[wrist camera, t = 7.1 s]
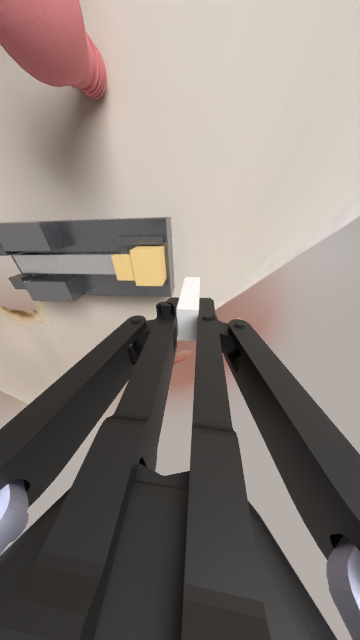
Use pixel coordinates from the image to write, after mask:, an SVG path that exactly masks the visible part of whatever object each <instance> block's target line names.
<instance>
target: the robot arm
mask: <svg viewBox="0 0 360 640" xmlns="http://www.w3.org/2000/svg"><path fill="white" fill-rule="evenodd" d="M199 293H200V277H185V280H184V283H183V287H182V291H181V294H180V298H169V299H168V300H167V301H165V302H160V303H158V304H157V305H156V309H157V318H156V319H154V320H148V321H146V318H145V317H143V316H133V317H130V318H129V319H127V320H126V321H125V322H124V323H123V324H122V325H120V326H119V327H118V328H117V329H116V330H115V331H113V332H112V333H111V334H110V335H109V336H108V337H107V338H105V339H104V340H103V341H102V342H101V343H100V344H98V345H97V346H96V347H95V348H94V349H93V350H92V351H90V352H89V353H88V354H87V355H86V356H85V357H83V358H82V359H81V360H80V361H79V362H78V363H76V364H75V365H74V366H73V367H72V368H71V369H70V370H68V371H67V372H66V373H65V374H64V375H63V376H61V377H60V378H59V379H58V380H57V381H56V382H55V383H53V384H52V385H51V386H50V387H49V388H48V389H46V390H45V391H44V392H43V393H42V394H41V395H40V396H38V397H37V398H36V399H35V400H34V401H33V402H31V403H30V404H29V405H28V406H27V407H26V408H24V409H23V410H22V411H21V412H20V413H19V414H18V415H16V416H15V417H14V418H13V419H12V420H11V421H9V422H8V423H7V424H6V425H5V426H4V427H3V428H1V429H0V554H1V553H2V551H3V550H4V549H5V547H6V546H7V545H8V544H9V543H10V542H12V541H14V540H15V539H16V538H17V537H18V536H19V535H20V534H21V533H22V532H23V530H24V528H25V527H26V525H27V522H28V513H27V510H28V507H29V506H30V505H32V503H34V502H35V501H36V499H37V498H39V497H40V495H41V494H42V493H43V492H44V491H45V490H46V488H48V486H49V485H50V484H51V483H52V482H53V481H54V480H55V478H56V477H57V476H58V475H59V473H60V472H61V471H62V470H63V468H64V467H65V466H66V464H67V463H68V462H69V460H70V459H71V458H72V456H73V455H74V454H75V452H76V451H77V449H78V448H79V447H80V445H81V444H82V443H83V441H84V440H85V438H86V437H87V436H88V434H89V433H90V432H91V430H92V429H93V428H94V426H95V425H96V424H97V422H98V421H99V419H100V418H101V417H102V415H103V414H104V413H105V411H106V410H107V408H108V407H109V406H110V404H111V403H112V402H113V400H114V399H115V398H116V396H117V395H118V393H119V392H120V391H121V389H122V388H123V387H124V385H125V384H126V383H127V381H128V380H129V382H128V384H127V386H126V388H125V391H124V393H123V395H122V397H121V400H120V402H119V405H118V406H117V409H116V411H115V413H114V414H113V415H112V416H110V417H108V418H106V419H105V420H104V422H103V423H102V425H101V426H100V428H99V430H98V433H97V434H96V437H95V439H94V441H93V443H92V445H91V447H90V449H89V451H88V453H87V456H86V457H85V460H84V462H83V464H82V466H81V468H80V470H79V472H78V474H77V477H76V479H75V480H74V483H73V485H72V487H71V488H70V489H69V490H68V491H67V492H66V493H65V494H64V495H63V496H62V497H61V498H60V499H58V500H57V501H56V502H55V503H54V504H53V505H52V506H51V507H50V508H49V509H48V510H47V511H46V512H45V513H44V514H43V515H42V516H41V517H40V518H39V519H38V520H37V521H36V522H35V523H34V524H33V525H32V526H31V527H30V528H29V529H27V530H26V531H25V532H24V533H23V534H22V535H21V536H20V537H19V538H18V539H17V540H16V541H15V542H14V543H13V544H12V545H11V546H10V547H9V548H8V549H7V550H6V551H5V552H4V553H3V554H2V555H1V556H0V640H337V638H336V637H335V635H334V634H333V632H332V631H331V629H330V627H329V625H328V624H327V622H326V621H325V619H324V618H323V616H322V614H321V613H320V611H319V609H318V608H317V606H316V605H315V603H314V601H313V600H312V598H311V597H310V595H309V593H308V592H307V590H306V589H305V587H304V585H303V584H302V582H301V581H300V579H299V577H298V576H297V574H296V573H295V571H294V569H293V568H292V566H291V565H290V563H289V561H288V560H287V558H286V557H285V555H284V553H283V552H282V550H281V548H280V547H279V545H278V544H277V542H276V540H275V539H274V537H273V536H272V534H271V532H270V531H269V529H268V528H267V526H266V524H265V523H264V521H263V520H262V518H261V517H260V515H259V514H258V513H257V511H256V510H255V509H254V507H253V506H252V505H251V504H250V503H249V501H248V500H247V494H246V487H245V481H244V474H243V468H242V461H241V455H240V449H239V443H238V438H237V435H236V433H235V431H234V430H233V428H232V423H231V415H230V407H229V400H228V393H227V385H226V378H225V371H224V364H223V356H222V353H223V354H224V357H225V359H226V361H227V363H228V365H229V367H230V369H231V372H232V374H233V376H234V378H235V380H236V382H237V384H238V386H239V389H240V391H241V393H242V395H243V397H244V399H245V401H246V403H247V405H248V408H249V410H250V412H251V414H252V416H253V418H254V420H255V422H256V424H257V426H258V429H259V430H260V433H261V435H262V437H263V439H264V441H265V443H266V445H267V448H268V450H269V452H270V454H271V456H272V458H273V460H274V462H275V464H276V466H277V469H278V471H279V473H280V475H281V477H282V479H283V481H284V483H285V485H286V488H287V490H288V492H289V494H290V496H291V498H292V500H293V502H294V504H295V506H296V508H297V510H298V512H299V513H300V515H301V517H302V519H303V521H304V523H305V525H306V527H307V528H308V530H309V531H310V533H311V535H312V537H313V538H314V540H315V542H316V543H317V545H318V547H319V548H320V550H321V551H322V553H323V554H324V556H325V557H326V559H327V560H328V561H327V579H328V583H329V591H330V593H331V596H332V598H333V601H334V603H335V605H336V607H337V609H338V611H339V613H340V615H341V616H342V619H343V621H344V623H345V625H346V627H347V629H348V631H349V633H350V635H351V637H352V639H353V640H360V454H359V453H358V452H357V451H356V450H355V448H354V447H353V446H352V445H351V444H350V443H349V441H348V440H347V439H346V438H345V437H344V436H343V434H342V433H341V432H340V431H339V430H338V428H337V427H336V426H335V425H334V424H333V422H332V421H331V420H330V419H329V418H328V417H327V415H326V414H325V413H324V412H323V411H322V409H321V408H320V407H319V406H318V405H317V404H316V402H315V401H314V400H313V399H312V398H311V396H310V395H309V394H308V393H307V392H306V391H305V390H304V388H303V387H302V386H301V385H300V384H299V382H298V381H297V380H296V379H295V378H294V376H293V375H292V374H291V373H290V372H289V370H288V369H287V368H286V367H285V366H284V365H283V363H282V362H281V361H280V360H279V359H278V357H277V356H276V355H275V354H274V353H273V352H272V350H271V349H270V348H269V347H268V346H267V344H266V343H265V342H264V341H263V340H262V339H261V337H260V336H259V335H258V334H257V333H256V331H255V330H254V329H253V328H252V327H251V325H250V324H248V323H247V322H246V321H243V320H239V319H235V320H231V321H230V322H229V324H227V323H223V322H221V321H219V320H218V319H217V317H216V316H215V308H214V301H213V300H212V299H211V298H199ZM177 336H178V340H183V341H197V343H196V344H197V345H196V364H195V383H194V402H193V403H194V404H193V422H192V440H191V459H190V471H187V472H182V473H177V474H172V475H168V476H162V475H160V474H158V473H156V472H155V469H156V461H157V447H158V441H159V436H160V431H161V426H162V421H163V416H164V410H165V405H166V400H167V395H168V389H169V384H170V379H171V373H172V368H173V363H174V358H175V353H176V347H177ZM131 344H132V345H131ZM130 345H131V346H130ZM129 378H130V379H129Z"/></svg>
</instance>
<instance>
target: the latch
mask: <svg viewBox="0 0 360 640" xmlns="http://www.w3.org/2000/svg"><path fill="white" fill-rule="evenodd" d="M111 257H112V261H113V265H114V269H115V273H116V277H117V280H127V281H135V282H136V286H162V285H163V284H164V282H165V280H166V265H165V252H164V246H137V247H135V248H133V249H131V250H130V254H113V255H111Z"/></svg>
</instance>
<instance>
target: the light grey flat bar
mask: <svg viewBox="0 0 360 640" xmlns="http://www.w3.org/2000/svg"><path fill="white" fill-rule="evenodd" d="M113 254H114V253H111V254H15V255H13V257H14V259H15V261H16V262H17V264H18V266H19V267H20V269H21V271H22V273H51V274H116V273H115V269H114V265H113V261H112V257H111V255H113Z"/></svg>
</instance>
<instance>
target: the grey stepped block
mask: <svg viewBox="0 0 360 640" xmlns="http://www.w3.org/2000/svg"><path fill="white" fill-rule="evenodd" d="M137 246H164V252H165V265H166V280H165V282H164V284H163V285H162V286H136V282H135V281H127V280H117V277H116V274H51V273H22V271H21V269H20V267H19V266H18V264H17V262H16V261H15V259H14V257H13V255H15V254H111V253H114V254H130V250H131V249H133V248H135V247H137ZM0 255H1V256H2V255H11V256H12V258H13V260H14V261H15V263H16V265H17V267H18V268H19V270H20V272H21V274H19V275H16V276H13V277H10V278H9V280H10V281H11V283H12V284H13V286H14V287H15V289H27V291H28V292H29V294H30V296H31V297H32V299H33V300H34V301H65V302H74V301H75V300H77V299H78V298H80V297H81V296H83V295H124V296H166V297H171V296H172V293H173V290H174V271H173V252H172V233H171V217H156V218H126V219H96V220H65V221H35V222H9V223H0Z"/></svg>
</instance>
